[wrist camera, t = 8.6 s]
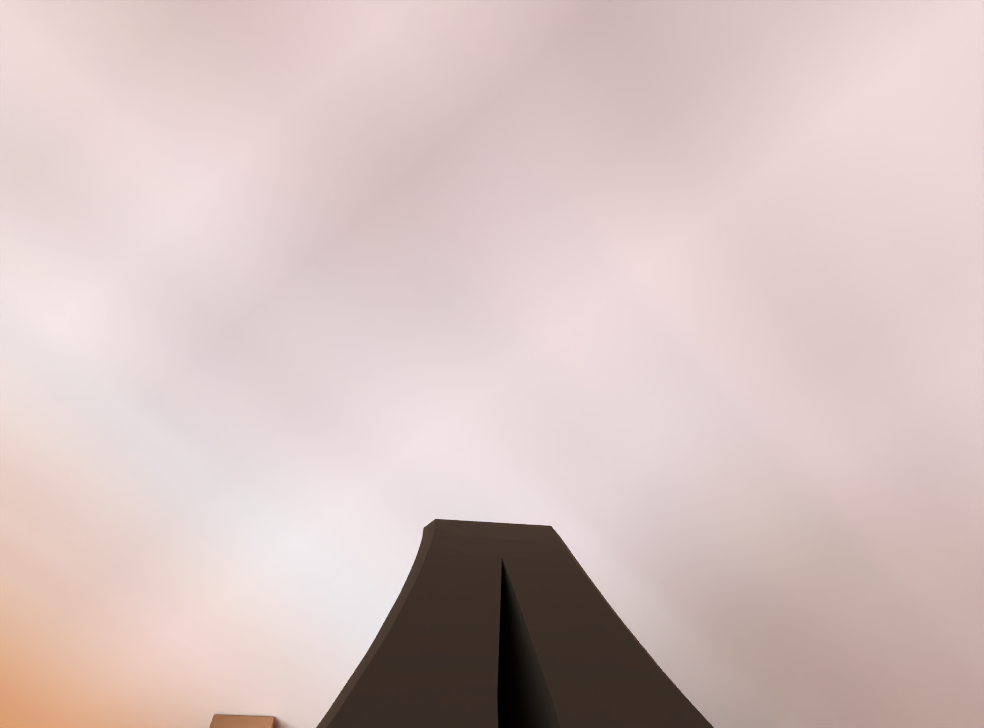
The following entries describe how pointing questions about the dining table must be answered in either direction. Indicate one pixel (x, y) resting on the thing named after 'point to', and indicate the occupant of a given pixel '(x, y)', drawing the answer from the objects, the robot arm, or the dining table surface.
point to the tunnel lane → (241, 721)
